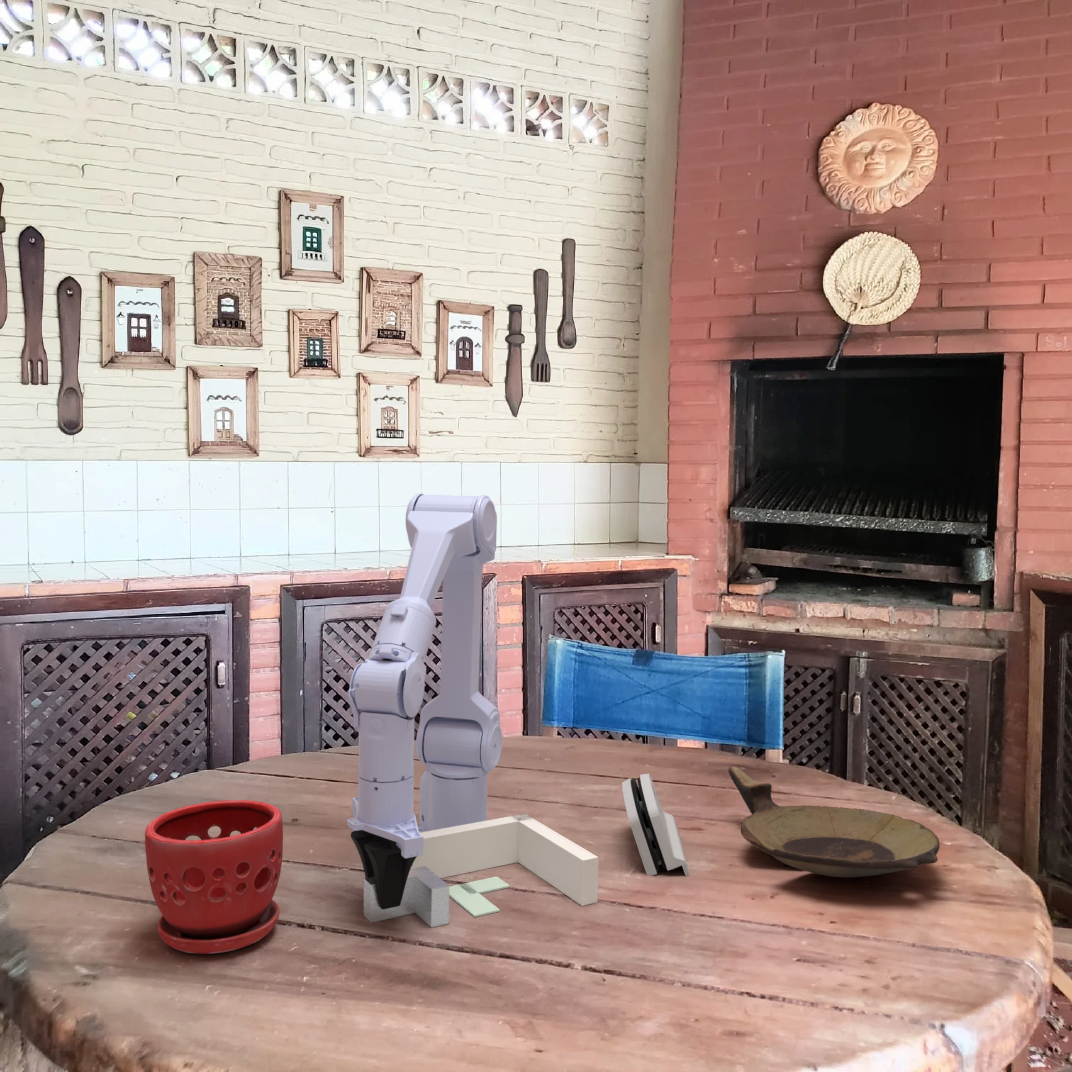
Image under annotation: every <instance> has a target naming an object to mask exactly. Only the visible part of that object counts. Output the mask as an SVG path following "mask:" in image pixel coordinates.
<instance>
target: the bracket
mask: <svg viewBox="0 0 1072 1072" xmlns="http://www.w3.org/2000/svg"><path fill="white" fill-rule="evenodd" d="M449 886H450V885H449V884H448V883H446V881H445V880H443V878H439V877H438V876H437V875H436V874H434V873H433V872H432V871H431V870H429V869H428V868H427V867H426V866H422V867H417V868H412V869H410V872H409V874H408V878H407V881H406V885H405V889H404V893H403V897H402V901H401V904H400V906H397V907H393V908H388V909H384V910H383V909H381V908H380V906H379V903H378V898H377V891H376V881H375V876H372V877H367V878H366V877H364V878H363V917H365V918H366V920H367V921H369V923H371V924H372V923H375V922H381V921H385V920H388V919H389V920H390V919H393V918H399V917H403V916H407V915H411V914H416V915H417V916H418V918H420V919H421V920H423V922H424V923H425V924H427V926H429V927H430V928H435V927H441V926H444V925H449V924H450V896H449Z"/></svg>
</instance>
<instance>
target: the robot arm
mask: <svg viewBox="0 0 1072 1072" xmlns="http://www.w3.org/2000/svg"><path fill="white" fill-rule="evenodd" d="M496 511H497V510H496V507H495V504H494V501H493V500H492V499H491V498H490V497H489V496H488V495H486V494H481V495H478V496H477V495H476V496H475V495H445V494H444V495H441V494H439V495H438V494H436V495H435V494H423V493H416V494H414V495H413V496H412V497H411V499H410V500H409V502H408V504H407V507H406V513H405V529H406V530H405V531H406V533H407V540H408V544H409V546H410V548H411V551H410V554H409V559H408V563H407V567H406V569H405V571H406V572H405V575H404V580H403V583H402V588H401V592H400V596H399V598H398V599H395V600H393V601H391V602H390V603H388V604H387V606H386V607H385V610H384V612H383V615H382V619H381V621H380V623H379V626H378V629H377V630H378V631H377V632H376V636H375V638H374V641H373V644H372V647H371V650H370V652H369V655H368V657H367V659H365V660H364V662H361V663H358V664H357V665H356V666H355V668H354V669H353V672H352V674H351V677H350V681H349V690H348V691H347V692H348V693H347V694H348V702H349V703H348V704H349V707H350V709H351V712H352V716H353V727H354V731H355V732H358V771H357V772H358V783H357V785H358V787H357V790H358V793H357V794H358V796H357V797H352V799H351V800H352V801H351V802H352V803H351V804H352V805H351V806H352V809H351V814H352V816H353V817H351V818H348V819H347V820H346V822H347V823H346V826H347V827H348V828H349V829H350V830H351V831H352V832H351V833H350V838H351V840H352V842H353V844H354V845H355V847H356V850H357V852H358V855H359V857H360V858H359V859H360V860H361V863H362V867H363V871H364V878H367V877H372V876H375V881H376V891H377V898H378V903H379V906H380V908H381V909H383V910H384V909H388V908H393V907H397V906H400V904H401V901H402V897H403V893H404V889H405V885H406V881H407V878H408V874H409V872H410V869H411V867H412V864H413V862H414V860H415V859H416V857H417V856H420V855H423V836H422V835H421V834H420V833H421V832H426V831H432V830H437V829H443V828H448V827H454V826H459V825H465V824H471V823H476V822H482V821H487V820H488V778H489V777H488V775H489V774H488V773H489V772H492V771H493V770H494V769H495V768H496V767H497V766H498V764H499V761H500V758H501V755H502V751H503V750H502V749H503V733H502V728H501V715H500V709H499V708H498V707H496V706H495V705H494V704H493V703H492V702H491V701H489V699H487V698H486V697H485V696H483V695H482V694H481V693H480V691H479V686H480V685H479V683H480V648H481V647H480V645H481V614H482V612H481V611H482V578H483V570H484V564H487V563H490V562H492V561H494V560H495V555H496V549H497V532H498V531H497V530H498V529H497V526H498V525H497V524H498V515H497V512H496ZM441 584H442V601H441V603H442V608H441V638H440V639H441V642H440V643H441V645H440V646H441V647H440V675H439V676H440V678H439V679H440V683H439V694H438V695H437V696H435V697H434V698H432V699H431V700H430V701H428V702H426V704H425V705H424V706H423V707H422V709H421V706H422V704H423V700H424V695H425V694H424V693H425V681H426V680H425V679H426V674H427V667H426V665H425V660H426V656H427V653H428V651H429V647H430V644H431V641H432V637H433V634H434V632H435V628H436V625H437V618H436V616H435V613H434V612H433V610H432V609H431V608H432V605H433V603H434V601H435V599H436V597H437V594H438V591H440V587H441ZM420 709H421V710H420ZM419 711H420V717H419V724H418V725H419V727H418V729H417V734H416V738H415V717H416V715H417V714H418V713H419ZM415 739H416V740H415ZM415 749H416V750H415ZM415 751H416V755H417V758H418V759H419V761H420V763H421V764H422V765H423V766H425V771H424V772H423V774H422V775H421V777H420V781H419V782H420V783H419V825H418V823H417V822H418V821H417V817H416V814H415V812H414V803H415V802H414V797H415V796H414V795H415V794H414V793H415V792H414V791H415V789H414V788H415V787H414V786H415V785H414V782H415V780H414V778H415V777H414V776H415V773H414V772H415V771H414V770H415Z"/></svg>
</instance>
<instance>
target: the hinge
mask: <svg viewBox="0 0 1072 1072" xmlns="http://www.w3.org/2000/svg"><path fill="white" fill-rule="evenodd" d="M621 789H622V795H623V801H624V806H625V810H626V814H627V819H628V822H629V825H630V828H631V831H632V834H633V837H634V840H635V843H636V845H637V849H638V852H639V856H640V858H641V861H642V864H643V867H644V870H645V874H646V876H655V875H658V871H660V866H661V865H662V869H666V870H667V871H671V870H674V869H677V868H679V867H682V870H683V872H684V875H685V877H690V876H691V873H690V871H689V867H688V863H687V859H686V856H685V851H684V848H683V844H682V841H681V836H680V831H679V829H678V826H677V823H676V820H675V817H674V815H672V814H669V813H668V812H665V811H664V810H663V807H662V804H661V802H660V798H659V796H658V792H657V790H656V787H655V783H654V781H653V778H652V775H651V773H643V774H640V775H639V777H637V780H636V778H633V779H632V777H630V778H629V777H628V778H627V779H626V780H624V781H623V782H622V783H621ZM653 842H654V844H655V847H656V848H653V847H654V846H653V845H652V843H653Z"/></svg>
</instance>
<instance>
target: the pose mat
mask: <svg viewBox="0 0 1072 1072" xmlns="http://www.w3.org/2000/svg"><path fill="white" fill-rule="evenodd" d="M510 887H511V886H510V885H509V884H508V883H507V882H506V881H504V880H502V879H501V878H500V877H498V876H492V877H487V878H482V879H478V880H474V881H468V882H465V883H459V884H455V885H451V886H450V885H449V898H451V899H452V900H453V901H455V902H456V903H457V904H458V905H459V906H460V907H462V908H463V909H464V910H465V911H467V913H468V914H470V915H471V916H472V917H473V918H478V917H483V916H486V915H490V914H495V913H499V912H501V910H500V908H499V907H498V906H496V905H495V904H494V903H492V902H491V901H489V900H488V899H487V898H486V897H484V896H483V894H486V893H490V892H495V891H499V890H503V889H507V888H509V889H510Z"/></svg>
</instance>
